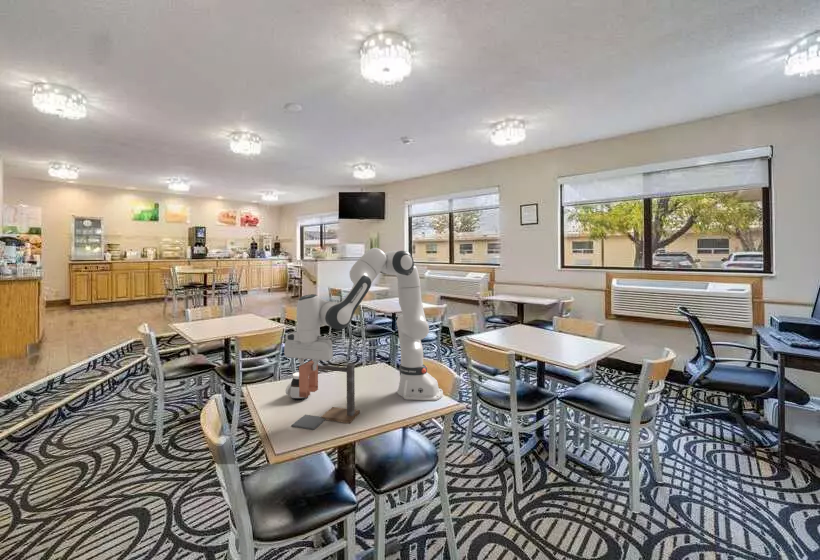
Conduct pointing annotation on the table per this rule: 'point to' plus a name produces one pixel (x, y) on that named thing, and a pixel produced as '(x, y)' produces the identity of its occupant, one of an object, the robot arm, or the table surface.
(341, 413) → the stand
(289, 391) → the spread jar
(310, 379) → the link
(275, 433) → the table surface
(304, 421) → the coaster
